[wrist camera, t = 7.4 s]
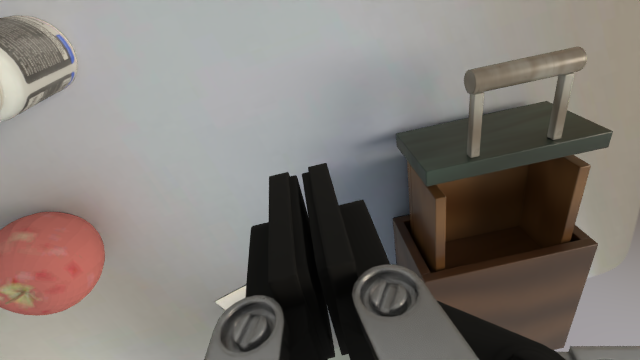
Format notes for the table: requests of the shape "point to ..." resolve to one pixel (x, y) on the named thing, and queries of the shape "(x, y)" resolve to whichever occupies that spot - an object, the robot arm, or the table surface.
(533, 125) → the drawer
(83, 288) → the apple
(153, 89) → the table surface
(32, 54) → the pill bottle
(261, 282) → the robot arm
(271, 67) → the table surface
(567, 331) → the cabinet
